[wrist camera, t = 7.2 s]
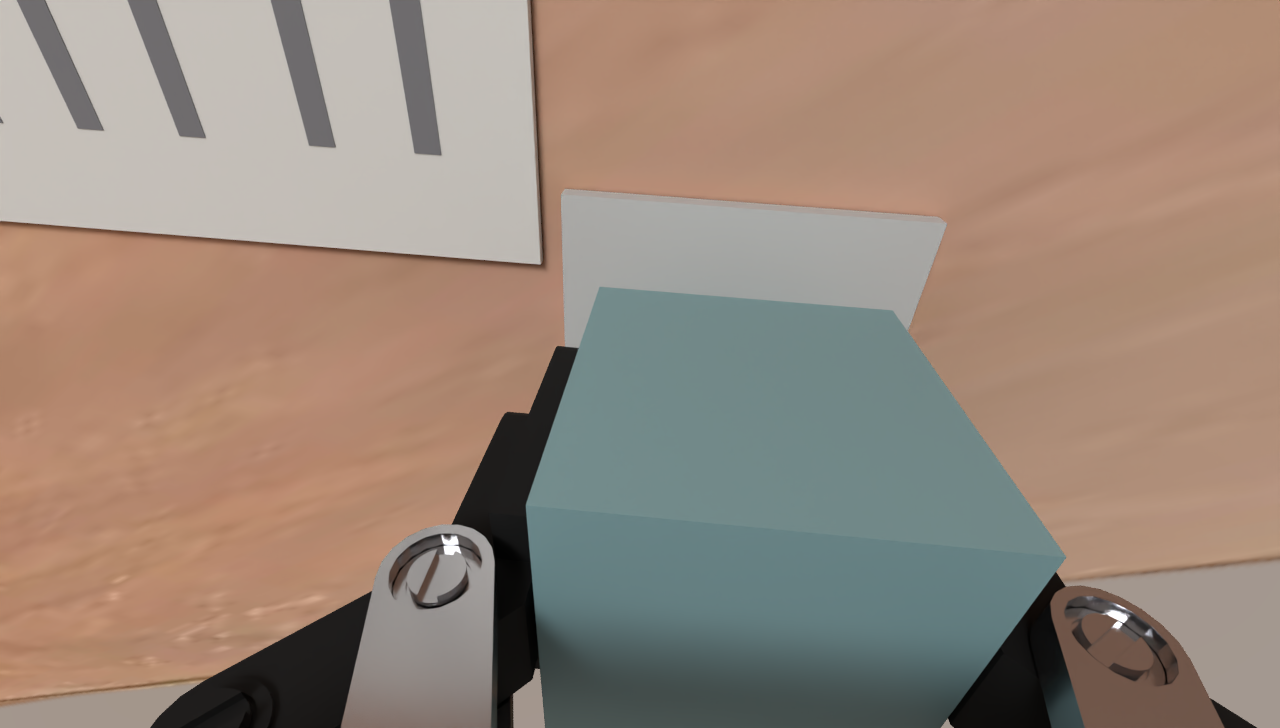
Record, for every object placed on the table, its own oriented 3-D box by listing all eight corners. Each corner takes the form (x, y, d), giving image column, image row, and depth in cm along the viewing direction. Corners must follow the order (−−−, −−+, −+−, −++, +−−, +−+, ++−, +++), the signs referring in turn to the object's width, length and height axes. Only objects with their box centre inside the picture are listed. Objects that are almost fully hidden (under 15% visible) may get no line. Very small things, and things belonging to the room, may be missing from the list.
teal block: (892, 310, 9) (1066, 557, 5) (823, 514, 12) (896, 786, 8) (600, 286, 9) (526, 505, 5) (596, 493, 12) (547, 747, 8)
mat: (938, 216, 10) (947, 223, 10) (842, 486, 14) (846, 498, 13) (565, 188, 10) (560, 194, 10) (571, 460, 14) (568, 471, 14)
